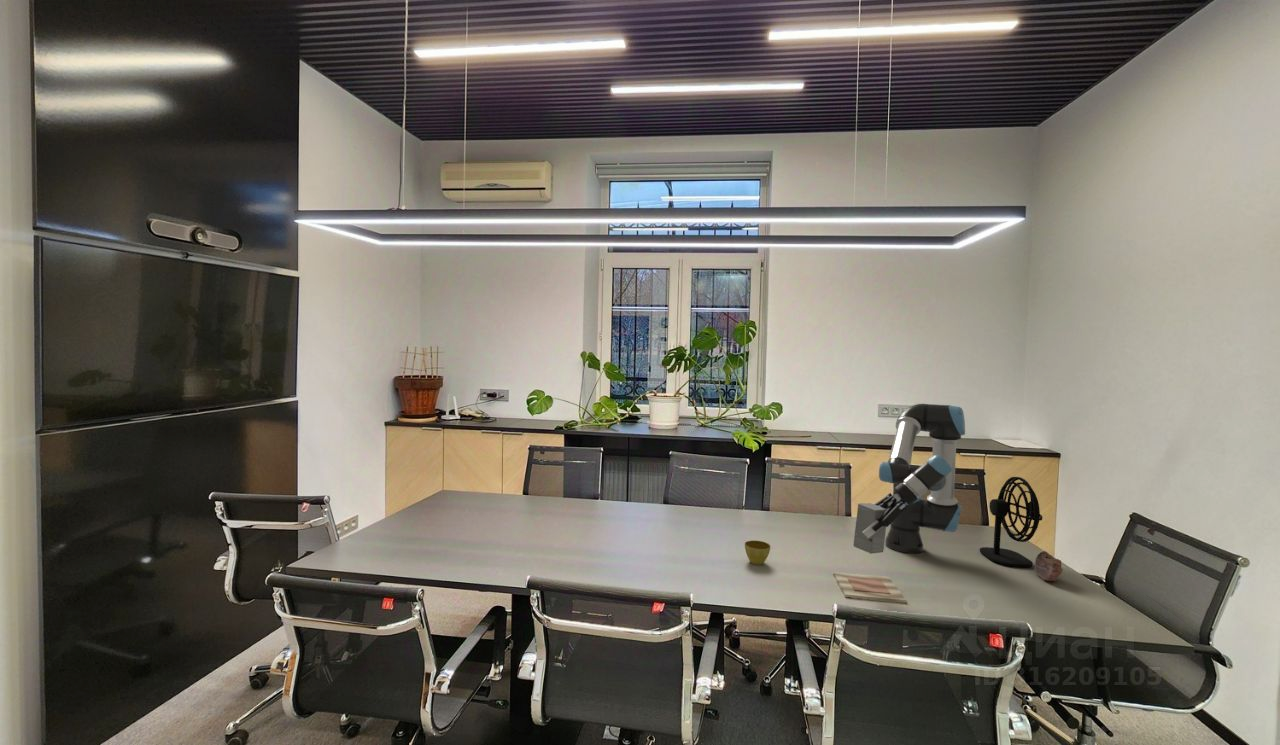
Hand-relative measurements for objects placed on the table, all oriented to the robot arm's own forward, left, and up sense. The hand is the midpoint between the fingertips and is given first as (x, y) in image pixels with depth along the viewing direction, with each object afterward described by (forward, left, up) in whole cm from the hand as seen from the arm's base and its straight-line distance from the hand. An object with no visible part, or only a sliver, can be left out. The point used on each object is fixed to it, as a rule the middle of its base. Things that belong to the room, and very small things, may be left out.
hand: (861, 530), depth 198 cm
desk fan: (-46, +71, -21) cm, 87 cm away
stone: (-26, +77, -21) cm, 84 cm away
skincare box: (0, +3, -7) cm, 7 cm away
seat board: (-1, +3, -21) cm, 21 cm away
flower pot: (-17, -35, -21) cm, 44 cm away
